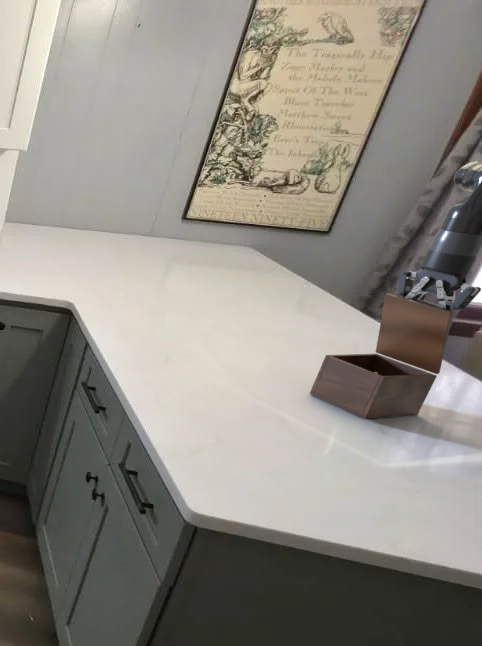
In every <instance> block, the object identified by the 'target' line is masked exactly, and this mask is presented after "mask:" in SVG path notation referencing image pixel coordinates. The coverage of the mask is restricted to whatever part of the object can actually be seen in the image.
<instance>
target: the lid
mask: <svg viewBox="0 0 482 646" xmlns="http://www.w3.org/2000/svg"><path fill="white" fill-rule="evenodd" d="M453 315H454V310H452V311H450V310H447V309H443V308H440V307H439V304H437V303H434V302H429V301H426V300H422V299H419V300H416V301H415V300H411V299H407V298H404V297H402V296H399V295H398V294H397V295H396V294H393V293H390V292H388V293H386V294H385V297H384V302H383V307H382V313H381V319H380V325H379V332H378V335H377V341H376V348H375V354H378V355H381V356H384V357H387V358H389V359H392V360H395V361H398V362H401V363H403V364H406V365H409V366H412V367H414V368H417V369H420V370H423V371H425V372H428V373H431V374H434V375H439V374H440V373H441V368H442V363H443V359H444V355H445V351H446V346H447V343H448V337H449V332H450V330H451V324H452V319H453Z"/></svg>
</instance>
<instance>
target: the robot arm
mask: <svg viewBox="0 0 482 646" xmlns="http://www.w3.org/2000/svg"><path fill="white" fill-rule="evenodd" d="M453 182H454V185H455V186H456V187H457V188H458V189H460V190H462V191H464V192H469V193H471V194H470V195H469V197H468V198H467V199H466V200H465V201H464V202H462V203H457V204H456V203H455V204H453V205H451V206H450V208H448V209H447V212H446V214H445V216H444V218H443V220H442V223H441V225H440V227H439V228H438V231H437V232H436V233H435V234H434V236H433V239H432V240H431V242H430V244H429V247H428V249H427V252H426V254H425V256H424V258H423V260H422V262H421V267H420V268H419V269H418V270H417V271H413V270H402V271H400V273H399V280H398V287H397V292H396V293H397V296H400V297H404V298H407V299H411V300H415V301H416V300H421V298H422V297H423V296H424V295H426V294H428V293H432V294H434V295H436V299H437V301H438V305H439V307H440V308H443V309H447V310H450V311H463V310H465V309H466V308H467V307H468V306H469V305H470V304H471V302H473V300H474V299H475V298H476V297H477V296H478V295H479V294H480V292H481V291H482V288H481V287H479V286H473V285H471V284H468V283H467V276H468V275H469V274H470V272H471V271H472V268H473V266H474V264H475V262H476V260H477V258H478V256H479V254H480V251H481V250H482V158H480V159H476V160H472V161H470V162H468V163H465V164H464V165H463V166H461V167H460V168H458V170H457V171H456V172H455V174H454V176H453ZM415 280H417V283H416V285H415V286H414V281H415ZM413 286H414V287H413ZM459 289H460V291H459V292H460V295H458V297H456V291H457V290H459Z"/></svg>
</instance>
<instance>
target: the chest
mask: <svg viewBox="0 0 482 646" xmlns="http://www.w3.org/2000/svg"><path fill="white" fill-rule="evenodd" d="M374 372H377V373H378V374H376V373H374ZM437 377H438V374H434V373H432V372H429V371H426V370H423V369H421V368H418V367H415V366H412V365H409V364H407V363H404V362H401V361H398V360H395V359H393V358H390V357H387V356H384V355H382V354H379V353H350V354H349V353H347V354H325V357H324V359H323V361H322V363H321V366H320V369H319V370H318V372H317V374H316V377H315V380H314V382H313V384H312V387H311V389H310V391H309V395H311V396H314V397H316V398H318V399H321V400H323V401H325V402H327V403H329V404H331V405H333V406H335V407H338V408H340V409H343V410H345V411H347V412H349V413H351V414H354V415H356V416H358V417H361V418H363V419H365V420H366V419H386V418H387V419H389V418H403V417H404V418H405V417H414V416H418V414H419V413H420V410H421V408H422V406H423V405H424V403H425V400H426V399H427V397H428V394H429V393H430V391H431V389H432V387H433V386H434V385H433V384H434V383H435V381H436V379H437Z"/></svg>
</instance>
